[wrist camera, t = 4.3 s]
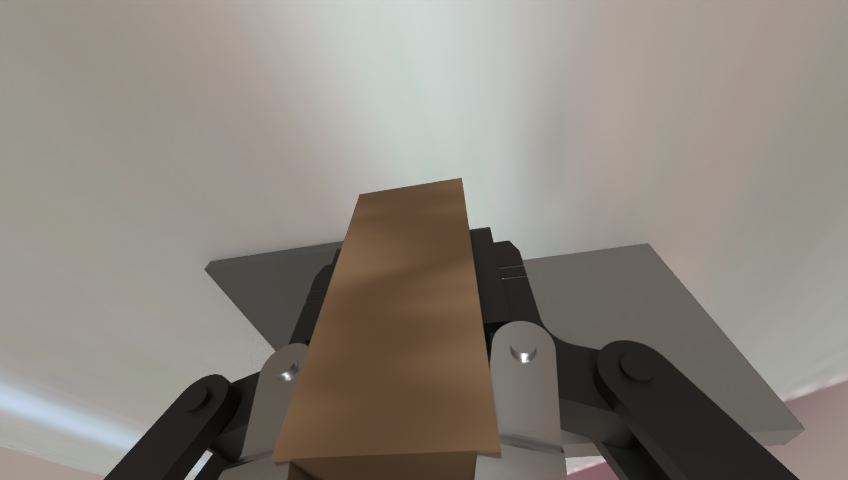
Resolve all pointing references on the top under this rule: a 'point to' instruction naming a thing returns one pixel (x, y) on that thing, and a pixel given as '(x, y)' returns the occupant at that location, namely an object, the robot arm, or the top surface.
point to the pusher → (397, 349)
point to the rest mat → (272, 286)
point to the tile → (652, 332)
